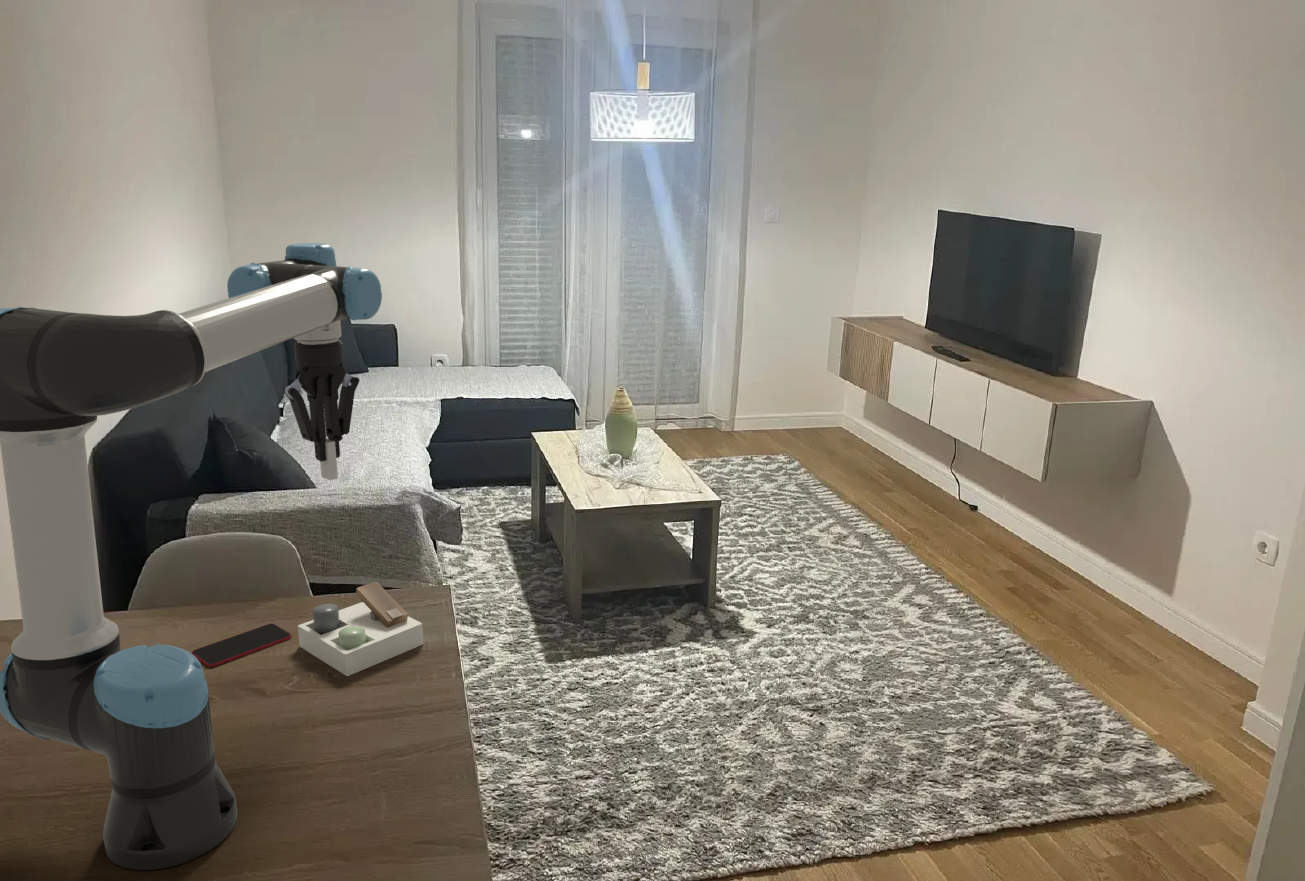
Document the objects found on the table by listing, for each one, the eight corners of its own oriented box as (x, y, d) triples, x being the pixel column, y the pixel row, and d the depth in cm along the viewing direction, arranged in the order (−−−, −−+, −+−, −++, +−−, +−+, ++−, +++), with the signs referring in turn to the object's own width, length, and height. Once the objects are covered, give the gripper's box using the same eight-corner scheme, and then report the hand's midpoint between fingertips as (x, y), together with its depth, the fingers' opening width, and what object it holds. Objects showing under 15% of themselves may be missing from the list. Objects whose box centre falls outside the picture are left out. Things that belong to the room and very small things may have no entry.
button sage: (349, 661, 162) (347, 640, 161) (335, 653, 165) (333, 631, 164) (371, 652, 165) (369, 631, 164) (357, 644, 168) (355, 623, 167)
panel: (347, 676, 161) (344, 647, 159) (299, 646, 170) (297, 618, 169) (423, 644, 171) (421, 616, 170) (374, 617, 181) (372, 591, 179)
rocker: (387, 627, 169) (388, 621, 168) (355, 594, 174) (356, 587, 173) (407, 620, 171) (408, 613, 171) (375, 587, 176) (376, 580, 176)
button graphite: (322, 637, 167) (320, 617, 166) (309, 630, 169) (307, 609, 168) (344, 629, 170) (343, 608, 169) (331, 621, 172) (329, 601, 171)
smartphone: (293, 635, 173) (209, 665, 162) (293, 639, 173) (210, 670, 163) (272, 622, 178) (189, 651, 167) (272, 626, 178) (190, 656, 167)
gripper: (292, 348, 153) (305, 491, 159) (365, 337, 162) (375, 473, 169) (268, 342, 157) (282, 481, 164) (341, 332, 167) (351, 464, 173)
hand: (329, 477), depth 166 cm, fingers closed
